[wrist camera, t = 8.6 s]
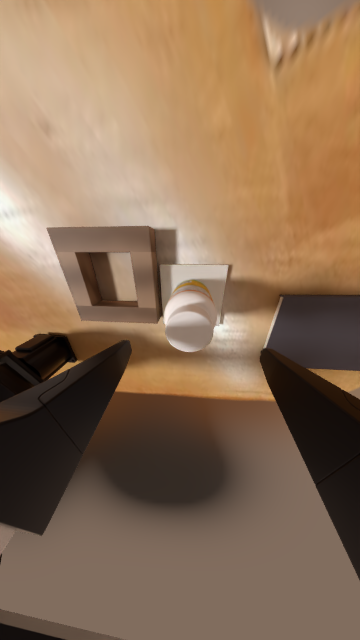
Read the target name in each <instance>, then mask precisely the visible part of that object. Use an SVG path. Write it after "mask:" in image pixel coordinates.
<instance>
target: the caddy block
mask: <svg viewBox="0 0 360 640" xmlns="http://www.w3.org/2000/svg"><path fill="white" fill-rule="evenodd" d="M47 231H48V233H49V236H50V239H51V241H52V244H53V246H54V249H55V252H56V254H57V257H58V260H59V262H60V265H61V268H62V270H63V273H64V276H65V278H66V281H67V283H68V286H69V289H70V291H71V294H72V297H73V299H74V302H75V305H76V307H77V310H78V313H79V315H80V318H81V321H104V322H129V323H154V324H157V323H158V321H159V319H160V317H161V312H160V298H159V285H158V271H157V257H156V244H155V230H154V229H153V228H151V227H149V226H119V227H57V228H47ZM89 252H130V254H131V261H132V268H133V274H134V281H135V287H136V294H137V301H103V300H102V298H101V294H100V291H99V287H98V283H97V280H96V276H95V273H94V269H93V265H92V262H91V258H90V255H89Z"/></svg>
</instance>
